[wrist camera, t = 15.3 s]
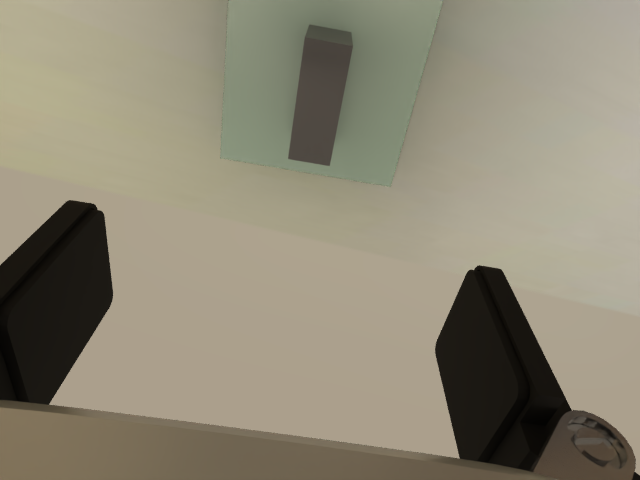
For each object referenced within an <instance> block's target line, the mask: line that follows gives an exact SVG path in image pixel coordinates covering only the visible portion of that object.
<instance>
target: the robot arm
mask: <svg viewBox="0 0 640 480" xmlns="http://www.w3.org/2000/svg"><path fill="white" fill-rule="evenodd" d="M112 298H113V289H112V281H111V271H110V263H109V254H108V245H107V236H106V227H105V218H104V214H103V212H102V211H98V210H97V207H96V205H94V204H91V203H85V202H79V201H71V200H69V201H67V202H66V203H65V204H64V205H63V206H62V207H61V208H59V209H58V210H57V211H56V212H55V213H54V214H53V215H52V216H51V217H50V218H49V219H48V220H47V221H46V222H45V223H44V224H43V225H42V226H41V227H40V228H39V229H38V230H37V231H35V232H34V233H33V234H32V235H31V236H30V237H29V238H28V239H27V240H26V241H25V242H24V243H23V244H22V245H21V246H20V247H19V248H18V249H17V250H16V251H15V252H14V253H13V254H12V255H11V256H9V257H8V258H7V259H6V260H5V261H4V262H3V263H2V264H1V265H0V480H640V475H638V474H637V473H636V472H634V471H635V464H636V463H635V462H636V459H635V456H634V453H633V450H632V448H631V446H630V445H629V443H628V442H627V440H626V439H625V438H624V437H623V435H622V434H621V433H620V432H619V431H618V430H617V429H616V428H614V427H613V426H612V425H611V424H609V423H608V422H607V421H605V420H604V419H602V418H600V417H598V416H596V415H594V414H591V413H588V412H585V411H577V410H573V411H572V410H571V408H570V406H569V404H568V402H567V400H566V398H565V396H564V394H563V392H562V390H561V388H560V386H559V384H558V382H557V380H556V378H555V376H554V374H553V372H552V370H551V368H550V366H549V364H548V362H547V360H546V358H545V356H544V354H543V352H542V350H541V348H540V346H539V344H538V342H537V340H536V337H535V335H534V334H533V331H532V329H531V327H530V325H529V323H528V321H527V319H526V317H525V315H524V313H523V311H522V309H521V307H520V305H519V303H518V301H517V299H516V297H515V295H514V293H513V291H512V289H511V287H510V285H509V283H508V281H507V279H506V277H505V275H504V273H503V271H502V270H501V269H498V268H492V267H486V266H477V267H476V268H475V269H474V270H469V271H468V272H467V274H466V276H465V279H464V281H463V283H462V285H461V287H460V290H459V292H458V294H457V296H456V299H455V301H454V303H453V306H452V308H451V310H450V312H449V314H448V317H447V319H446V321H445V323H444V326H443V328H442V330H441V333H440V335H439V337H438V339H437V342H436V348H435V353H436V358H437V363H438V367H439V371H440V376H441V380H442V384H443V388H444V392H445V397H446V401H447V406H448V410H449V414H450V418H451V423H452V427H453V431H454V436H455V440H456V444H457V448H458V453H459V457H460V459H457V458H451V457H445V456H438V455H432V454H425V453H418V452H410V451H403V450H396V449H388V448H382V447H374V446H367V445H359V444H352V443H345V442H337V441H330V440H323V439H316V438H307V437H300V436H293V435H285V434H278V433H270V432H262V431H255V430H247V429H240V428H232V427H224V426H216V425H209V424H201V423H193V422H186V421H178V420H170V419H162V418H154V417H146V416H138V415H130V414H122V413H114V412H106V411H99V410H91V409H83V408H73V407H64V406H55V405H49V403H50V402H51V400H52V398H53V397H54V395H55V394H56V392H57V390H58V389H59V387H60V386H61V384H62V382H63V381H64V379H65V378H66V376H67V374H68V373H69V371H70V370H71V368H72V366H73V365H74V363H75V362H76V360H77V358H78V357H79V355H80V354H81V352H82V350H83V349H84V347H85V346H86V344H87V342H88V341H89V339H90V338H91V336H92V334H93V333H94V331H95V330H96V328H97V326H98V325H99V323H100V322H101V320H102V318H103V317H104V315H105V313H106V312H107V310H108V309H109V307H110V305H111V302H112Z"/></svg>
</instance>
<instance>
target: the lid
mask: <svg viewBox="0 0 640 480" xmlns="http://www.w3.org/2000/svg"><path fill="white" fill-rule="evenodd" d="M442 3H443V0H228V12H227V32H226V52H225V73H224V93H223V114H222V134H221V154H220V158H222V159H228V160H233V161H239V162H245V163H251V164H257V165H263V166H269V167H275V168H281V169H287V170H293V171H299V172H305V173H311V174H317V175H323V176H328V177H334V178H340V179H346V180H352V181H358V182H364V183H370V184H376V185H382V186H388V187H391V184H392V180H393V177H394V173H395V170H396V166H397V163H398V159H399V155H400V152H401V148H402V145H403V141H404V138H405V134H406V131H407V127H408V124H409V120H410V117H411V113H412V109H413V106H414V102H415V99H416V95H417V92H418V88H419V85H420V81H421V78H422V74H423V71H424V67H425V64H426V60H427V56H428V53H429V49H430V46H431V42H432V39H433V35H434V32H435V28H436V25H437V21H438V18H439V14H440V11H441V7H442Z"/></svg>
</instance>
